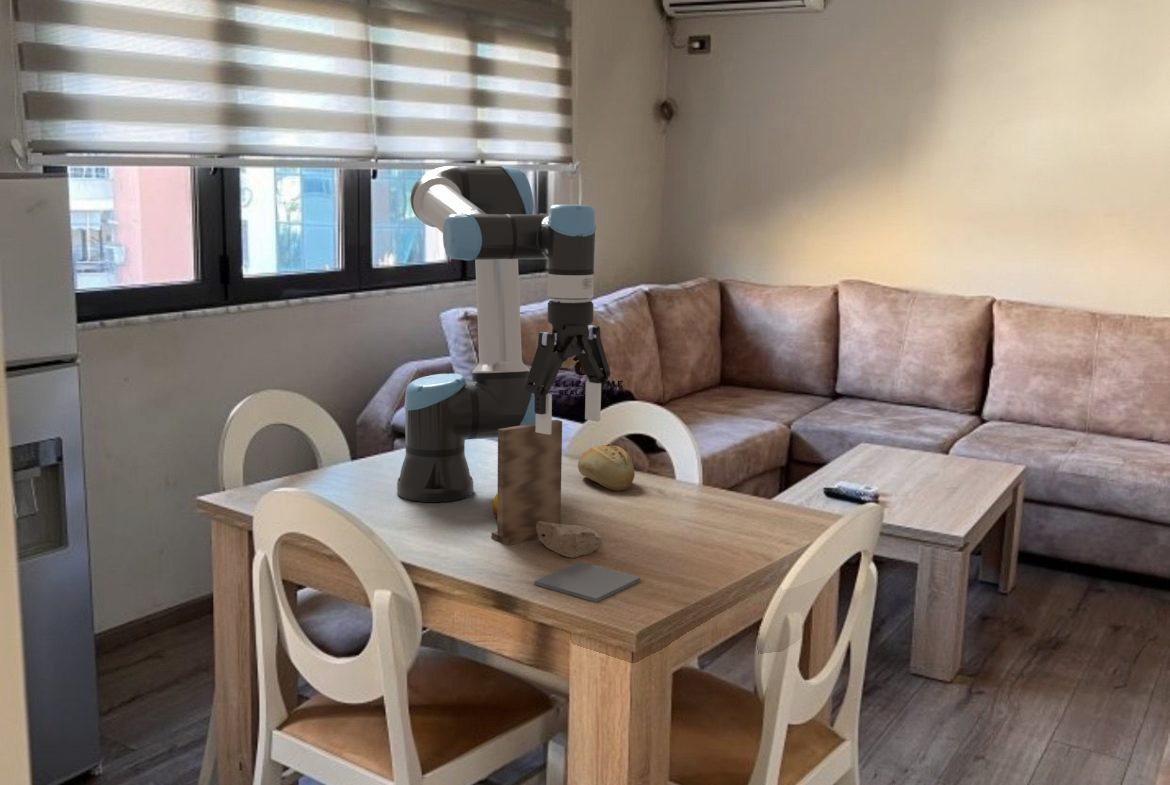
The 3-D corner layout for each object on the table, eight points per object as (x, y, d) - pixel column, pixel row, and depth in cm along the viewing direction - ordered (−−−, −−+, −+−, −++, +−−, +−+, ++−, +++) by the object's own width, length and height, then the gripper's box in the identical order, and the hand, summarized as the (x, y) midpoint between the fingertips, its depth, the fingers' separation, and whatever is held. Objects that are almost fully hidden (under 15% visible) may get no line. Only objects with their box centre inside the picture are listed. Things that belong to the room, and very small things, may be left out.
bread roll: (603, 472, 253) (604, 436, 251) (646, 488, 241) (647, 451, 239) (566, 478, 247) (567, 441, 246) (608, 495, 235) (609, 456, 234)
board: (508, 545, 203) (509, 432, 199) (491, 537, 207) (492, 427, 203) (566, 531, 212) (568, 422, 208) (548, 524, 215) (550, 417, 212)
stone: (561, 562, 196) (562, 534, 195) (531, 543, 205) (531, 515, 204) (608, 555, 200) (609, 527, 199) (575, 536, 210) (576, 510, 209)
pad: (534, 584, 185) (534, 580, 185) (580, 564, 194) (580, 561, 194) (596, 602, 178) (596, 598, 178) (640, 580, 187) (640, 577, 187)
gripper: (541, 307, 180) (539, 442, 184) (632, 296, 200) (629, 417, 204) (503, 303, 185) (503, 435, 189) (596, 292, 205) (594, 412, 209)
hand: (568, 426), depth 196 cm, fingers open, 13 cm apart
